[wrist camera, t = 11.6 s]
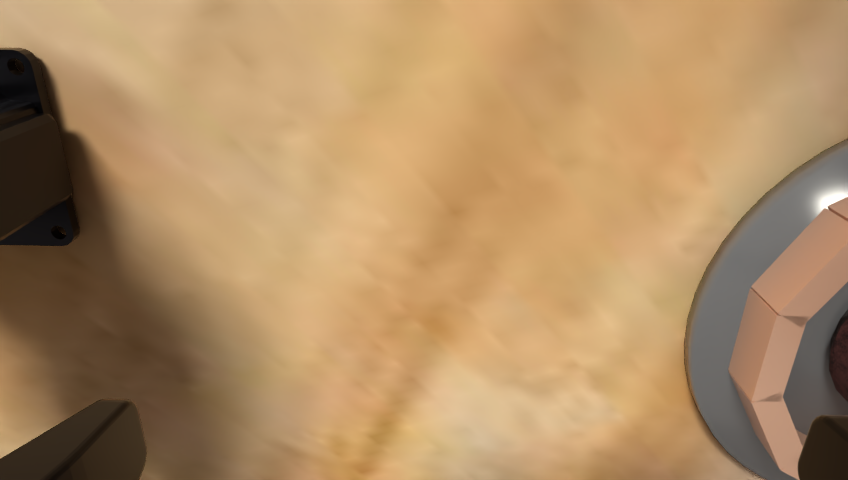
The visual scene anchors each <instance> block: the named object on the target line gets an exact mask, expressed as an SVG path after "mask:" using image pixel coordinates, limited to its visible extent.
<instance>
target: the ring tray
mask: <svg viewBox="0 0 848 480" xmlns="http://www.w3.org/2000/svg"><path fill="white" fill-rule="evenodd" d="M847 310H848V139H846V140H844V141H842V142H840V143H838V144H836V145H834V146H832V147H831V148H829V149H827V150H825V151H823V152H821V153H820V154H818V155H817V156H815V157H814V158H812V159H811V160H809V161H808V162H806V163H805V164H803V165H802V166H800V167H799V168H797V169H796V170H794V171H793V172H791V173H790V174H789V175H788V176H787V177H785V178H784V179H783V180H782V181H780V182H779V183H778V184H777V185H776V186H774V187H773V188H772V189H771V190H770V191H768V192H767V193H766V194H765V195H764V196H763V197H762V198H761V199H760V200H759V201H758V202H757V203H756V204H755V205H754V206H753V207H752V208H751V209H750V210H749V211H748V212H747V213H746V214H745V215H744V216H743V217H742V218H741V220H740V221H739V222H738V223H737V225H736V226H735V227H734V228H733V230H732V231H731V232H730V233H729V235H728V236H727V237H726V238H725V240H724V241H723V242H722V244H721V245H720V247H719V249H718V250H717V252H716V254H715V255H714V257H713V258H712V260H711V262H710V263H709V265H708V267H707V268H706V271H705V273H704V275H703V277H702V279H701V282H700V284H699V286H698V288H697V290H696V293H695V296H694V299H693V302H692V306H691V309H690V312H689V316H688V320H687V327H686V334H685V341H684V351H685V369H686V374H687V380H688V385H689V388H690V391H691V393H692V396H693V399H694V402H695V404H696V406H697V408H698V410H699V411H700V413H701V415H702V417H703V418H704V420H705V422H706V423H707V425H708V427H709V428H710V430H711V432H712V433H713V435H714V437H715V438H716V439H717V440H718V441H719V443H720V444H721V445H722V446H723V447H724V449H725V450H726V451H727V452H728V453H729V454H730V455H731V456H733V457H734V458H735V459H736V460H737V461H738V462H740V463H741V464H742V465H743V466H745V467H746V468H748V469H749V470H751V471H753V472H754V473H756V474H758V475H759V476H761V477H763V478H765V479H767V480H800V479H799V476H798V460H799V457H800V454H801V451H802V448H803V446H804V443H805V440H806V437H807V434H808V431H809V429H810V426H811V423H812V421H813V420H814V419H815V418H816V417H817V416H820V415H847V416H848V402H847V401H846V400H845V399H844V398H843V397H842V395H841V394H840V393H839V392H838V391H837V390H836V389H835V386H834V383H833V380H832V377H831V375H830V372H829V355H830V343H831V337H832V335H833V333H834V331H835V329H836V327H837V324H838V322H839V320H840V318H841V317H842V316H843V315H844V314H845V312H846V311H847Z"/></svg>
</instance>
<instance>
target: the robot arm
mask: <svg viewBox="0 0 848 480" xmlns="http://www.w3.org/2000/svg"><path fill="white" fill-rule="evenodd" d="M16 59H18V60H20V61H21V62H22V63H23V65H24V72H21V71H20V70H18V68H17V66H16ZM72 192H73V188H72V184H71V180H70V176H69V172H68V167H67V163H66V159H65V155H64V151H63V146H62V142H61V138H60V134H59V130H58V126H57V122H56V120H55V119H54V118H53V117H52V113H51V108H50V104H49V100H48V96H47V92H46V88H45V84H44V80H43V75H42V71H41V67H40V64H39V62H38V59H37V58H36V57H35V56H34V54H33V53H31V52H30V51H28V50H26V49H22V48H0V245H40V246H64V245H68V244H69V243H71V242H72V241H74V240H75V239H76V238H77V237H78V235H79V233H80V230H79V224H78V220H77V216H76V212H75V208H74V204H73V200H72V195H71V194H72ZM58 226H60V227H62V228H63V229H64V230H65V231H66V235H65V234H62V233H61V232H60V231H59V229H58ZM146 454H147V448H146V442H145V438H144V433H143V429H142V425H141V420H140V416H139V411H138V408H137V405H136V404H135V403H134V402H133V401H131V400H129V399H102V400H99V401H97V402H95V403H93V404H92V405H90V406H88V407H87V408H85V409H83V410H82V411H80V412H78V413H77V414H75V415H73V416H72V417H70V418H68V419H67V420H65V421H63V422H62V423H60V424H58V425H56V426H55V427H53V428H51V429H50V430H48V431H46V432H45V433H43V434H41V435H40V436H38V437H36V438H35V439H33V440H31V441H30V442H28V443H26V444H24V445H23V446H21V447H19V448H18V449H16V450H14V451H13V452H11V453H9V454H8V455H6V456H4V457H3V458H1V459H0V480H139V479H140V476H141V474H142V471H143V468H144V465H145V461H146ZM798 476H799V479H800V480H848V416H847V415H820V416H817V417H816V418H815V419H814V420H813V421H812V423H811V426H810V429H809V431H808V434H807V437H806V440H805V443H804V446H803V448H802V451H801V454H800V457H799V460H798Z"/></svg>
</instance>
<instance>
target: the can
mask: <svg viewBox="0 0 848 480" xmlns="http://www.w3.org/2000/svg"><path fill="white" fill-rule="evenodd" d="M829 372H830V375H831V377H832V380H833V383H834V386H835V389H836V390H837V391H838V392H839V393H840V394H841V395H842V397H843V398H844V399H845V400H846V401H847V402H848V310H847V311H846V312H845V314H844V315H843V316H842V317H841V318H840V320H839V322H838V324H837V327H836V329H835V331H834V333H833V335H832V337H831V343H830V355H829Z"/></svg>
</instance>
